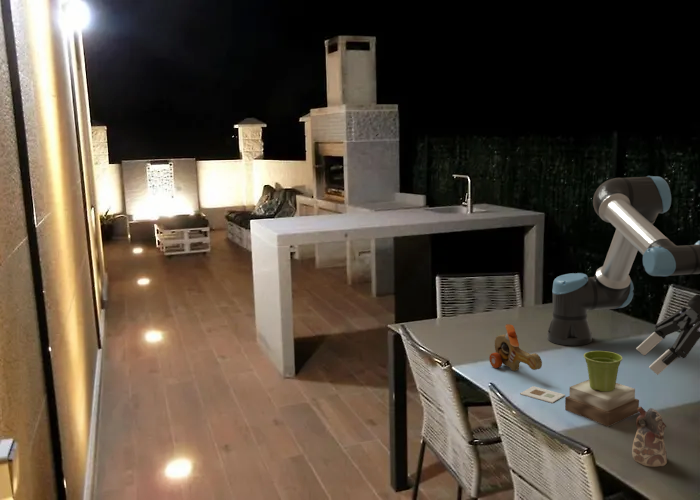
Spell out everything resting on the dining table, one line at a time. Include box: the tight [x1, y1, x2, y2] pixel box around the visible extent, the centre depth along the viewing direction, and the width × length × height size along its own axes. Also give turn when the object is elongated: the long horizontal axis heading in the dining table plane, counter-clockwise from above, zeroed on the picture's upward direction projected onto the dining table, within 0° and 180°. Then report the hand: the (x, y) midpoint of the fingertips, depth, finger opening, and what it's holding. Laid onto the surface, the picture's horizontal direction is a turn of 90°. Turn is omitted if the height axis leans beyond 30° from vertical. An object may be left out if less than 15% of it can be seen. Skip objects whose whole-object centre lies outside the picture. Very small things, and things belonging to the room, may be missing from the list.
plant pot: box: [583, 350, 623, 392], centre depth 168 cm, size 9×9×9 cm
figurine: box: [631, 406, 668, 468], centre depth 143 cm, size 7×7×12 cm
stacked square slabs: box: [564, 379, 640, 427], centre depth 169 cm, size 13×13×6 cm
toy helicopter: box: [488, 323, 543, 372], centre depth 199 cm, size 8×21×14 cm, turn 24°
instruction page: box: [520, 385, 566, 404], centre depth 182 cm, size 10×7×1 cm
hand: (646, 361), depth 165 cm, fingers open, 13 cm apart
